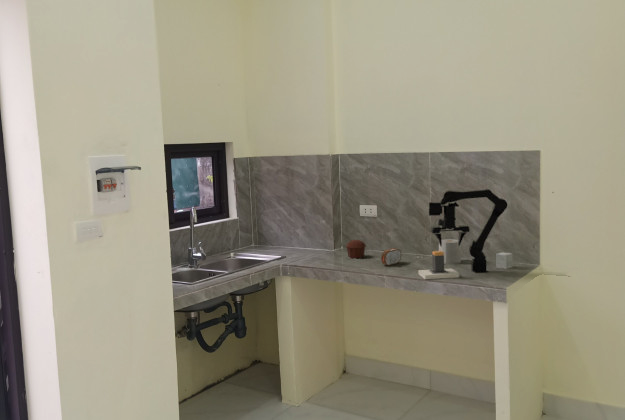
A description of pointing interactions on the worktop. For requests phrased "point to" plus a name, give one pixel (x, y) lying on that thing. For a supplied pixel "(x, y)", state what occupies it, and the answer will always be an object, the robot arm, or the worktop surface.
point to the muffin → (356, 249)
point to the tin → (391, 256)
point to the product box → (504, 260)
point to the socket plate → (438, 274)
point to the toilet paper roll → (451, 251)
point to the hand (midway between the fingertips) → (449, 246)
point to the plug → (438, 261)
